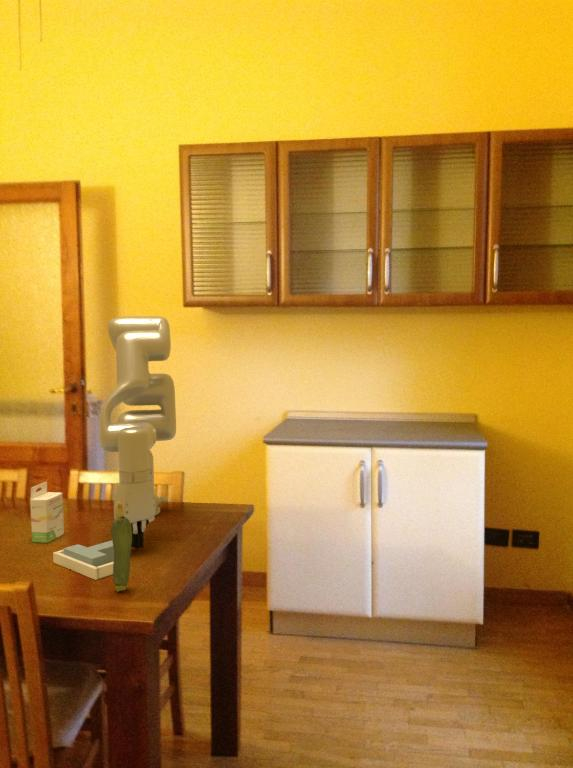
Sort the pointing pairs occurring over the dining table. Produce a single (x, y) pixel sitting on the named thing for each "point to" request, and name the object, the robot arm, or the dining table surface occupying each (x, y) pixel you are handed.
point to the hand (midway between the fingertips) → (137, 547)
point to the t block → (92, 553)
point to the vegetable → (121, 548)
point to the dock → (82, 566)
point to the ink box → (46, 514)
